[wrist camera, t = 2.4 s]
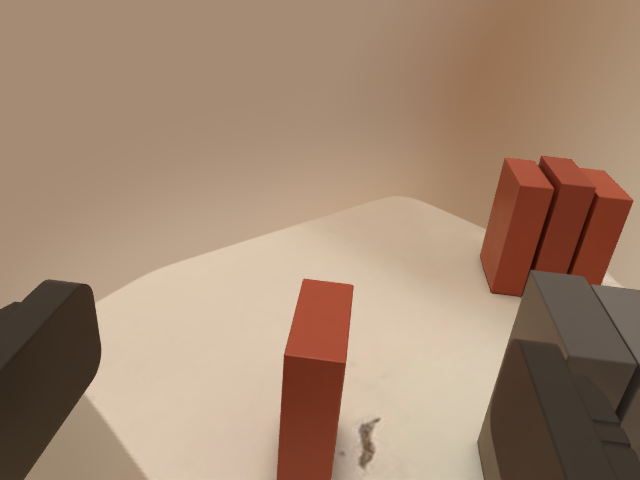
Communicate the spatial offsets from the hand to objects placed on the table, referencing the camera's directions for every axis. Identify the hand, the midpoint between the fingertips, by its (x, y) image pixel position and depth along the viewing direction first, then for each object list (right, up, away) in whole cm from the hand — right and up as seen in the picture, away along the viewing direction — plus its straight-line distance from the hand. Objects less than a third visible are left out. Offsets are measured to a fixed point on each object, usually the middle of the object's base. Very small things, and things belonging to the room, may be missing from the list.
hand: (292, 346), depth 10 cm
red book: (0, -10, +19) cm, 22 cm away
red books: (+20, -1, +39) cm, 43 cm away
